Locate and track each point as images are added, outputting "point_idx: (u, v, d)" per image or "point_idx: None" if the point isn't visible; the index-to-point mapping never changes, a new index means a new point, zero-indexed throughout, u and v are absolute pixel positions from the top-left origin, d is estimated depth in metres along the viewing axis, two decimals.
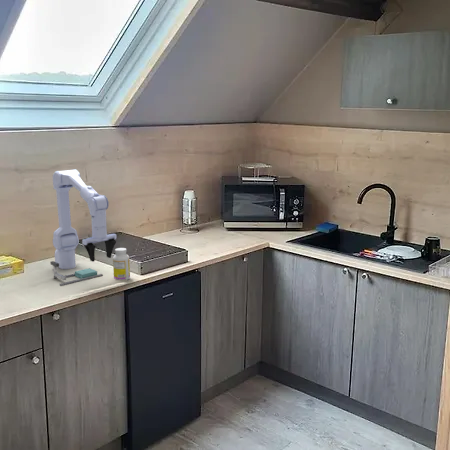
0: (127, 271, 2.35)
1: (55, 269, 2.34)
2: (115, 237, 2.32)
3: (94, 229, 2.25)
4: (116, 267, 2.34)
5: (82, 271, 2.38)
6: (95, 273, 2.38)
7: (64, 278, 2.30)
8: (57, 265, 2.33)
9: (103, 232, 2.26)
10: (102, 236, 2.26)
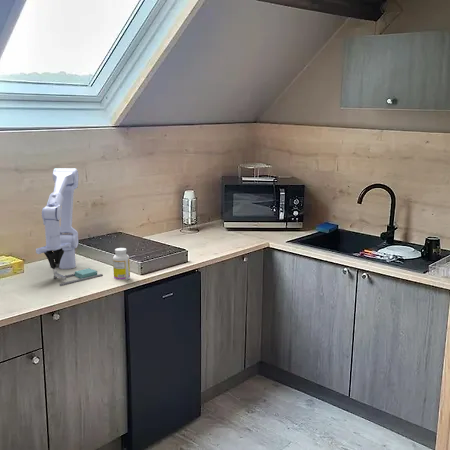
0: (127, 271, 2.35)
1: (55, 269, 2.34)
2: (69, 246, 2.37)
3: (47, 238, 2.29)
4: (116, 267, 2.34)
5: (82, 271, 2.38)
6: (95, 273, 2.38)
7: (64, 278, 2.30)
8: (57, 265, 2.33)
9: (56, 241, 2.30)
10: (55, 245, 2.30)
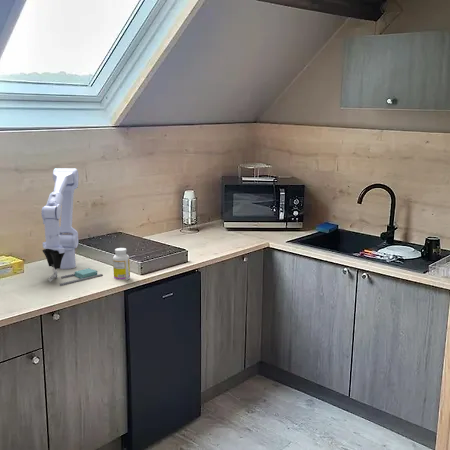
0: (127, 271, 2.35)
1: (54, 269, 2.34)
2: (59, 251, 2.27)
3: None
4: (116, 267, 2.34)
5: (82, 271, 2.38)
6: (95, 273, 2.39)
7: (49, 280, 2.28)
8: (52, 265, 2.32)
9: (46, 241, 2.30)
10: (46, 244, 2.31)
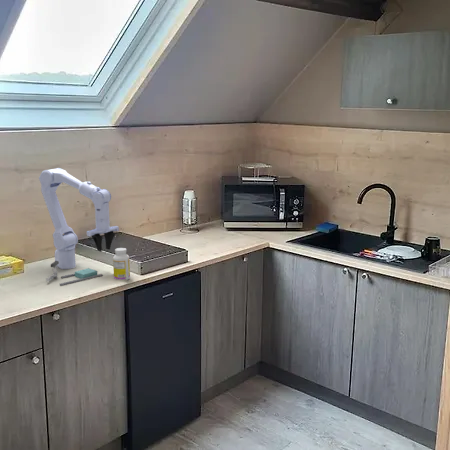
0: (127, 271, 2.35)
1: (54, 269, 2.34)
2: (117, 229, 2.45)
3: (98, 221, 2.38)
4: (116, 267, 2.34)
5: (82, 271, 2.38)
6: (95, 273, 2.39)
7: (47, 280, 2.28)
8: (51, 265, 2.32)
9: (106, 224, 2.38)
10: (105, 228, 2.38)
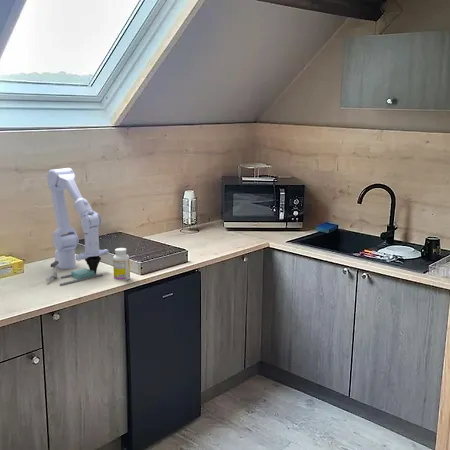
0: (127, 271, 2.35)
1: (54, 269, 2.34)
2: (107, 252, 2.43)
3: (87, 245, 2.36)
4: (116, 267, 2.34)
5: (79, 271, 2.37)
6: (92, 273, 2.38)
7: (47, 280, 2.28)
8: (51, 265, 2.32)
9: (95, 248, 2.37)
10: (95, 252, 2.37)
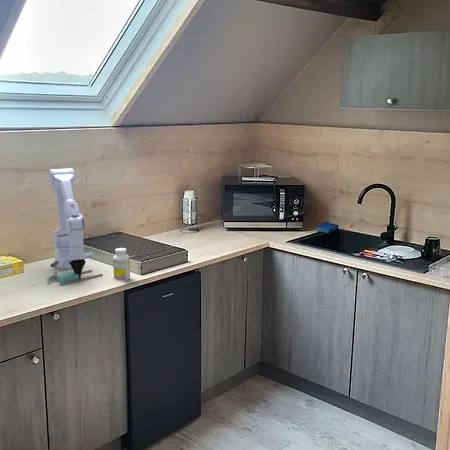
0: (127, 271, 2.35)
1: (54, 269, 2.34)
2: (92, 255, 2.38)
3: (71, 248, 2.31)
4: (116, 267, 2.34)
5: (63, 275, 2.33)
6: (76, 277, 2.33)
7: (47, 280, 2.28)
8: (51, 265, 2.32)
9: (80, 251, 2.32)
10: (79, 255, 2.32)
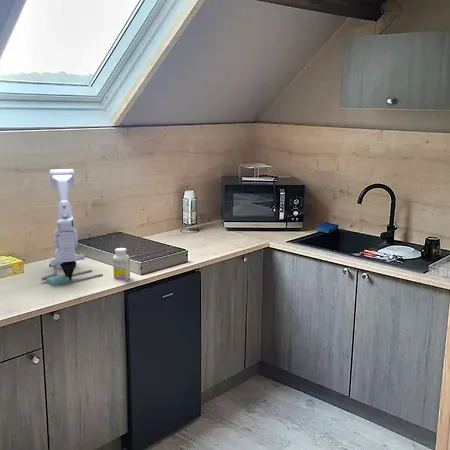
0: (127, 271, 2.35)
1: (53, 269, 2.34)
2: (83, 257, 2.35)
3: (62, 250, 2.28)
4: (116, 267, 2.34)
5: (54, 277, 2.30)
6: (67, 280, 2.30)
7: (41, 279, 2.29)
8: (50, 265, 2.32)
9: (70, 253, 2.29)
10: (70, 257, 2.29)
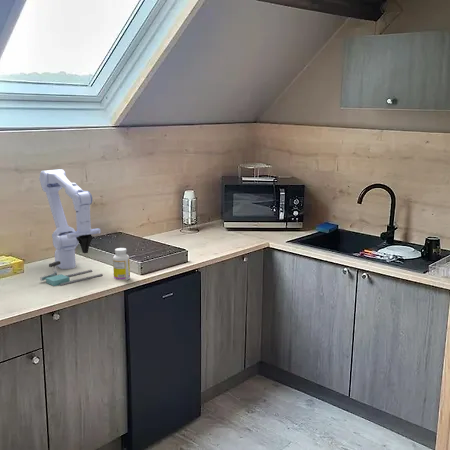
0: (127, 271, 2.35)
1: (53, 269, 2.34)
2: (99, 231, 2.41)
3: (78, 223, 2.33)
4: (116, 267, 2.34)
5: (53, 277, 2.30)
6: (67, 279, 2.30)
7: (41, 279, 2.29)
8: (49, 265, 2.32)
9: (87, 227, 2.34)
10: (86, 230, 2.34)
